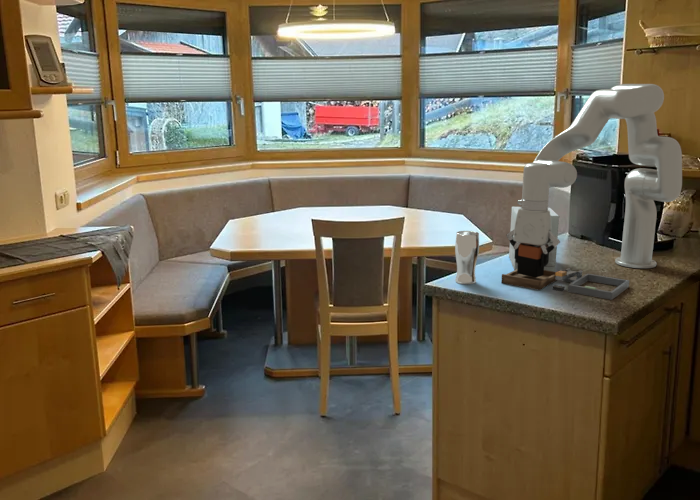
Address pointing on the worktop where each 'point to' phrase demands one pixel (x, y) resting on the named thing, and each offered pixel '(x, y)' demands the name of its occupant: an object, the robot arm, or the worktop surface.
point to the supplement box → (552, 254)
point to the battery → (530, 260)
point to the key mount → (568, 280)
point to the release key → (565, 275)
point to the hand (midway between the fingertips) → (531, 263)
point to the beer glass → (466, 256)
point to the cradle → (592, 291)
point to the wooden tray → (529, 280)
